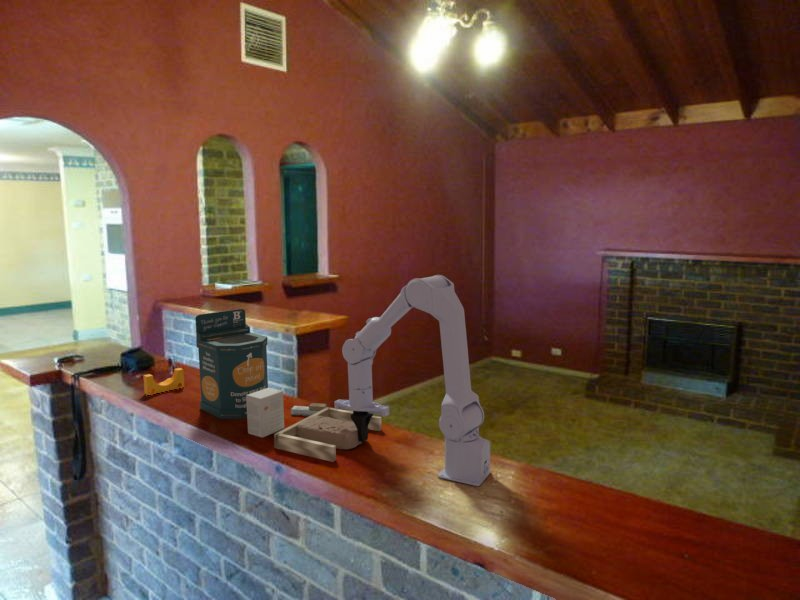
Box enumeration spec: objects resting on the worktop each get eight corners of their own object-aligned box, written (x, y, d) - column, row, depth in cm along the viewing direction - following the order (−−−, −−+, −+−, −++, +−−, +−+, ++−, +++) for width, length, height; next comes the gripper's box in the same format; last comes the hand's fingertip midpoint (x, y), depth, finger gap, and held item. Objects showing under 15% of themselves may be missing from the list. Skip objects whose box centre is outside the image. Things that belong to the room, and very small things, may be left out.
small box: (270, 424, 155) (268, 386, 154) (285, 428, 152) (283, 390, 151) (247, 433, 149) (245, 394, 147) (262, 438, 146) (260, 398, 144)
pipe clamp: (178, 385, 192) (177, 366, 191) (184, 388, 189) (183, 369, 188) (142, 393, 183) (140, 374, 182) (148, 396, 180) (146, 376, 179)
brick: (295, 440, 144) (294, 422, 144) (315, 429, 152) (314, 412, 151) (350, 453, 137) (350, 434, 136) (368, 441, 144) (368, 423, 143)
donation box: (248, 396, 179) (244, 308, 175) (278, 408, 168) (274, 314, 164) (200, 409, 168) (194, 315, 164) (228, 422, 157) (223, 322, 153)
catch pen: (381, 429, 151) (381, 417, 150) (332, 462, 131) (332, 447, 131) (327, 419, 159) (327, 407, 158) (274, 448, 139) (273, 434, 139)
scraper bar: (328, 414, 164) (327, 403, 163) (324, 418, 161) (324, 407, 160) (294, 412, 166) (294, 401, 165) (291, 415, 163) (290, 405, 162)
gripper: (394, 385, 139) (396, 439, 141) (344, 379, 146) (346, 430, 147) (380, 393, 133) (382, 449, 134) (328, 386, 139) (331, 440, 141)
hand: (362, 440), depth 140 cm, fingers closed, pressing on brick
